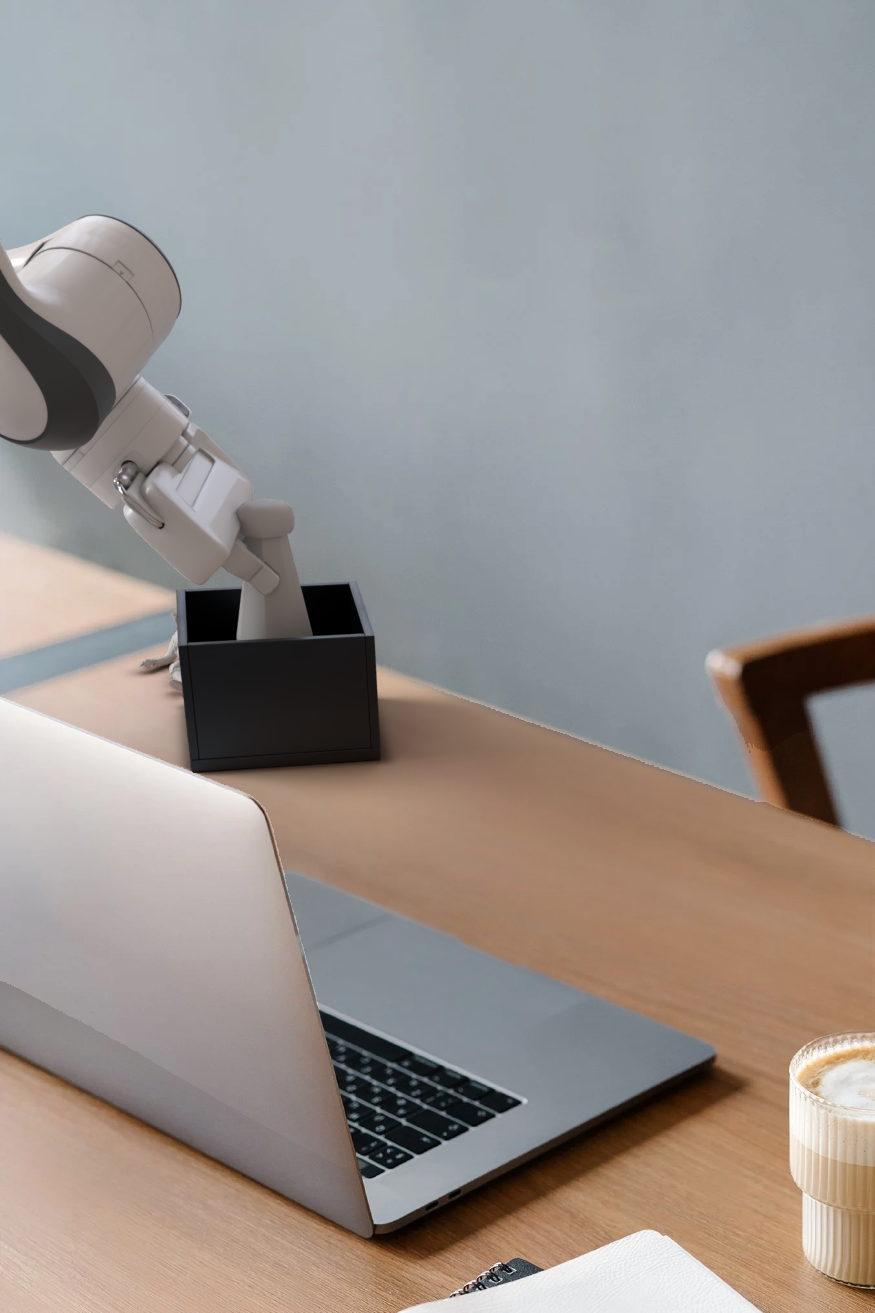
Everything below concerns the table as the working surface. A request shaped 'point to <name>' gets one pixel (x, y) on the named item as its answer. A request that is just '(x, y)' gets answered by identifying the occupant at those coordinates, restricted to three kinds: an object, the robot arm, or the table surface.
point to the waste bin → (278, 683)
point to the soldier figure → (169, 659)
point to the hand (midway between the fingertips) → (277, 578)
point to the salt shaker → (270, 543)
